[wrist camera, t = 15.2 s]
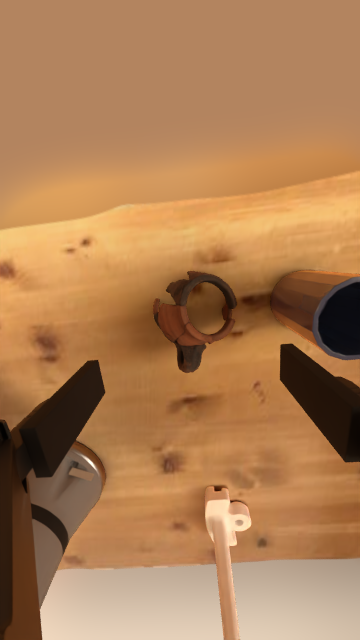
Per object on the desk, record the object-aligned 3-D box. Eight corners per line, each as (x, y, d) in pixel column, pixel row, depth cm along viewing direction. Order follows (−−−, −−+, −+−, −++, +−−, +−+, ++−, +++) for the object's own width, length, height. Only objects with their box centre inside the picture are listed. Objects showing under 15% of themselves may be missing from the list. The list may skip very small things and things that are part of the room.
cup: (269, 328, 29) (310, 362, 19) (270, 273, 27) (315, 280, 17) (326, 323, 28) (397, 356, 18) (331, 267, 26) (413, 271, 16)
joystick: (200, 487, 37) (211, 736, 18) (244, 483, 36) (306, 738, 17) (209, 531, 40) (228, 787, 20) (250, 528, 39) (309, 790, 20)
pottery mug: (146, 278, 28) (168, 263, 20) (207, 281, 32) (245, 269, 24) (149, 369, 28) (172, 386, 21) (209, 361, 32) (248, 373, 24)
